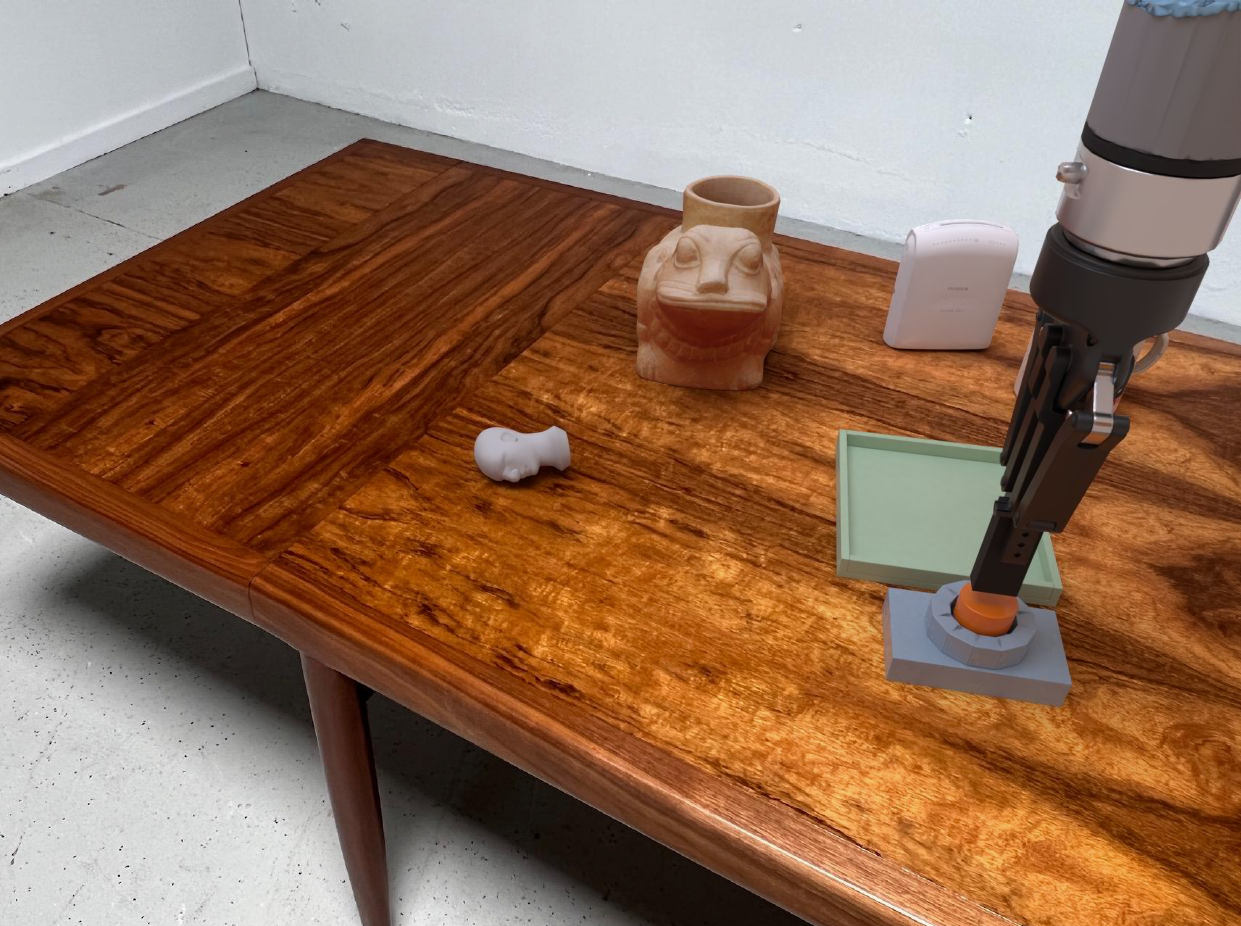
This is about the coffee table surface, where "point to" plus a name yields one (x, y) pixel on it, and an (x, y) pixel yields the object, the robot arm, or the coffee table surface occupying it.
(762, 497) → the coffee table surface
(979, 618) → the button
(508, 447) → the smooth white sculpture
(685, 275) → the ceramic vessel
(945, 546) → the tray
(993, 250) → the photo printer
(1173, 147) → the robot arm
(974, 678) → the control block
